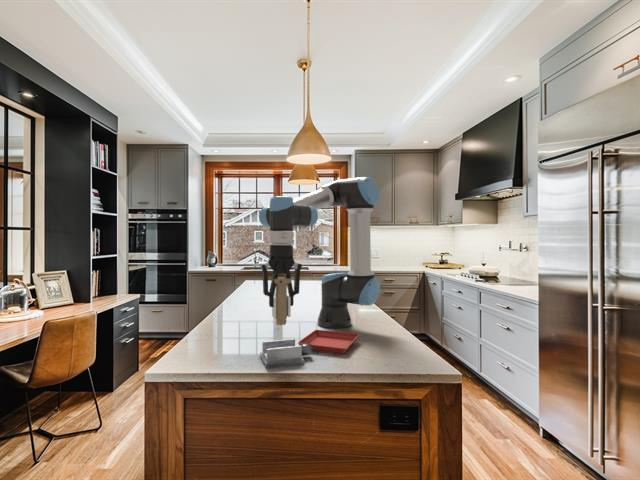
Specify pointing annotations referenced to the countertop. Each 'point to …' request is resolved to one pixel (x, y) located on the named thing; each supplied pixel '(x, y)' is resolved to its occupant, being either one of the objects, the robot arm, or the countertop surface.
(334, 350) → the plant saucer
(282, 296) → the handle
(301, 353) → the valve body
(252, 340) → the countertop surface
